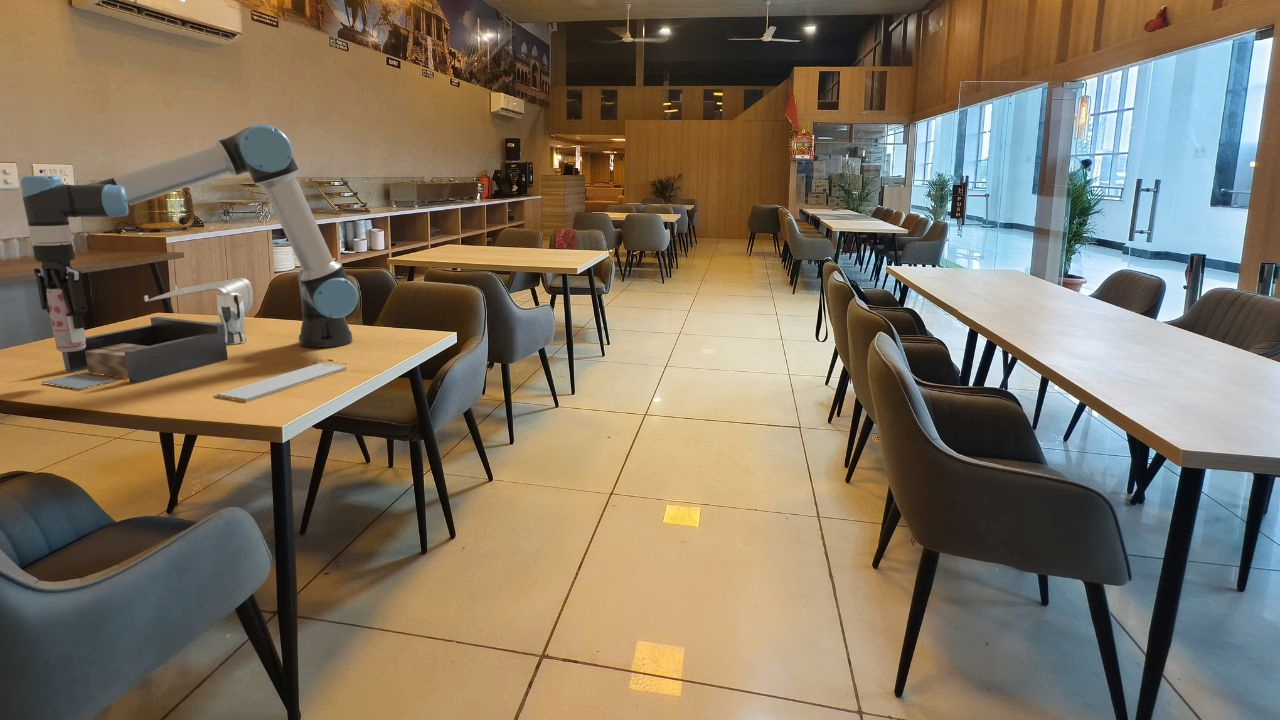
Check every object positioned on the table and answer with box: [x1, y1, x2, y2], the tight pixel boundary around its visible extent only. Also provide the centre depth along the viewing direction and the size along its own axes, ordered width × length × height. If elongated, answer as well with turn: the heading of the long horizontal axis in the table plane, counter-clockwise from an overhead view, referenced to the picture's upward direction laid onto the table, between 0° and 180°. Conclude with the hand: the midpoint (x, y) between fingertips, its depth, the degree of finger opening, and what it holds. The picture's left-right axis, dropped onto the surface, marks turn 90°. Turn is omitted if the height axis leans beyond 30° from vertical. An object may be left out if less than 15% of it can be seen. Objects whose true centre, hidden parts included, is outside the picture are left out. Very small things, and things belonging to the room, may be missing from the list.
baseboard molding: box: [213, 358, 348, 402], centre depth 181 cm, size 31×3×12 cm
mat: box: [41, 373, 115, 389], centre depth 178 cm, size 14×8×1 cm, turn 69°
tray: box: [61, 316, 229, 385], centre depth 193 cm, size 26×26×10 cm
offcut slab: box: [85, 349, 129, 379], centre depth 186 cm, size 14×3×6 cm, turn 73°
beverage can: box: [46, 288, 86, 353], centre depth 174 cm, size 6×6×15 cm
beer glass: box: [216, 292, 247, 345], centre depth 220 cm, size 7×7×15 cm
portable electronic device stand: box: [143, 277, 254, 324], centre depth 237 cm, size 26×24×16 cm
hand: (70, 340), depth 176 cm, fingers closed on beverage can, 6 cm apart
